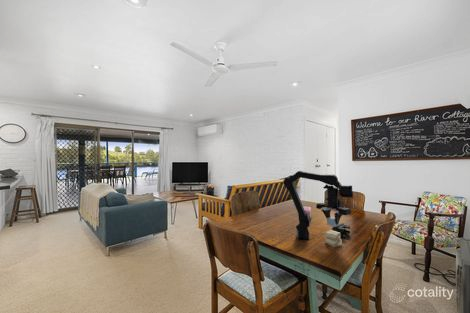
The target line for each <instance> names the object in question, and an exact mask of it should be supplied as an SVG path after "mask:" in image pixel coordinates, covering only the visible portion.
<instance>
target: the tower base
mask: <svg viewBox="0 0 470 313" xmlns="http://www.w3.org/2000/svg"><path fill="white" fill-rule="evenodd" d="M324 240H325V244H326V245H329V246H331V247H333V248H336V247H341V246H342V245H343V242H342V241H343V239H341V238H340V239H339V240H337V241H333V240H330V239H327V238H326V236H325V239H324Z"/></svg>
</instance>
